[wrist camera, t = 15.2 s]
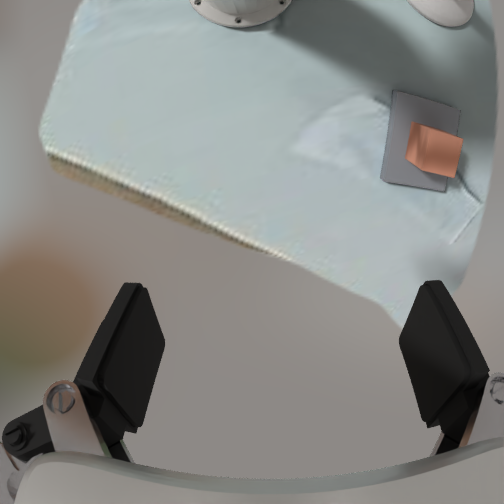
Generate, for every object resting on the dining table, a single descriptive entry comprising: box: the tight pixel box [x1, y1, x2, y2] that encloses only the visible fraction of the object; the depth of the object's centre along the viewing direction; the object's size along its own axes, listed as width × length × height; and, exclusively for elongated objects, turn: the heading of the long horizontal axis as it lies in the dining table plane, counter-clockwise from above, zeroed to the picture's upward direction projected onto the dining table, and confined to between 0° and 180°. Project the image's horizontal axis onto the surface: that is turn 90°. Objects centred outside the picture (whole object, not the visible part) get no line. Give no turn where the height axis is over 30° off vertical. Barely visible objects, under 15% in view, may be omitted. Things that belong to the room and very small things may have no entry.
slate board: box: [380, 90, 461, 191], centre depth 32 cm, size 12×10×2 cm
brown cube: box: [405, 121, 463, 178], centre depth 29 cm, size 5×5×5 cm
